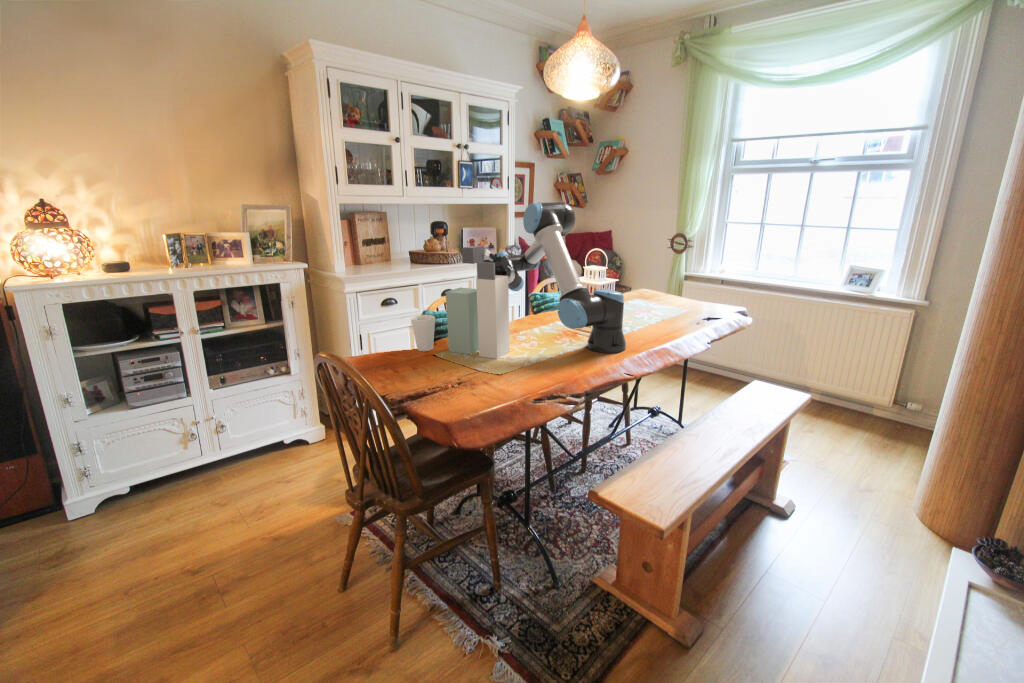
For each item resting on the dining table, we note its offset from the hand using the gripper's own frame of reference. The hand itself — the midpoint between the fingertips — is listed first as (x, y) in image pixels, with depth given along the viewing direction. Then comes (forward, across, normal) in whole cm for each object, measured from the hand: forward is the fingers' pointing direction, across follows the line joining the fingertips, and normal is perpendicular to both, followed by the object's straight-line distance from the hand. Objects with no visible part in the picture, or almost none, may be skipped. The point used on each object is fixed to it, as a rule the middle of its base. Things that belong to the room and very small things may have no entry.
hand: (478, 251), depth 190 cm
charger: (-2, 0, +4) cm, 4 cm away
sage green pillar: (-8, 0, +39) cm, 40 cm away
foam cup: (-3, -16, +42) cm, 45 cm away
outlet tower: (-8, +13, +39) cm, 42 cm away
